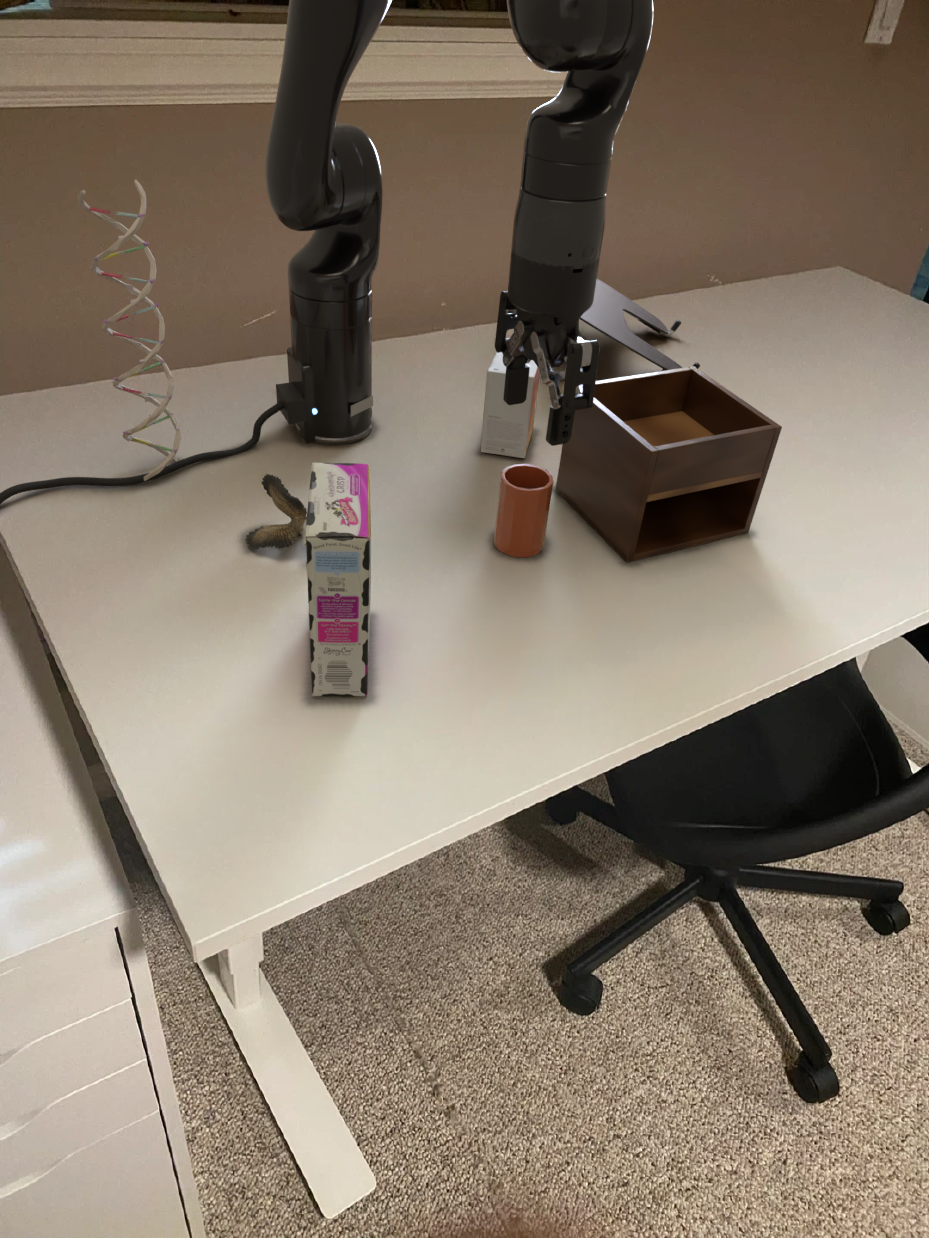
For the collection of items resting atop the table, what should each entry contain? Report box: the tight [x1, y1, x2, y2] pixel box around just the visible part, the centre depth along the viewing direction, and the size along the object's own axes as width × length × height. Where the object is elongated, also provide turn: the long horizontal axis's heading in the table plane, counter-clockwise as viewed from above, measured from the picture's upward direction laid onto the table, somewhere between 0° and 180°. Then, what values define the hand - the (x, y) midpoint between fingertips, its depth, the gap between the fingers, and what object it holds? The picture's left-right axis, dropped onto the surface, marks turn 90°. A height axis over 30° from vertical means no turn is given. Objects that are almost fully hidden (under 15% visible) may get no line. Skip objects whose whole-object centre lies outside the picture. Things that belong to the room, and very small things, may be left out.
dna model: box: [76, 179, 182, 481], centre depth 92 cm, size 7×6×30 cm
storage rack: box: [555, 365, 783, 563], centre depth 98 cm, size 16×15×13 cm
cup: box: [493, 463, 554, 558], centre depth 93 cm, size 5×5×8 cm
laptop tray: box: [579, 278, 701, 371], centre depth 134 cm, size 23×23×9 cm
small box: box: [480, 351, 541, 459], centre depth 109 cm, size 8×6×10 cm
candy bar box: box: [305, 462, 372, 699], centre depth 75 cm, size 11×5×16 cm, turn 5°
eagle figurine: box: [245, 473, 307, 550], centre depth 91 cm, size 8×7×9 cm
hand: (535, 422), depth 87 cm, fingers open, 8 cm apart
